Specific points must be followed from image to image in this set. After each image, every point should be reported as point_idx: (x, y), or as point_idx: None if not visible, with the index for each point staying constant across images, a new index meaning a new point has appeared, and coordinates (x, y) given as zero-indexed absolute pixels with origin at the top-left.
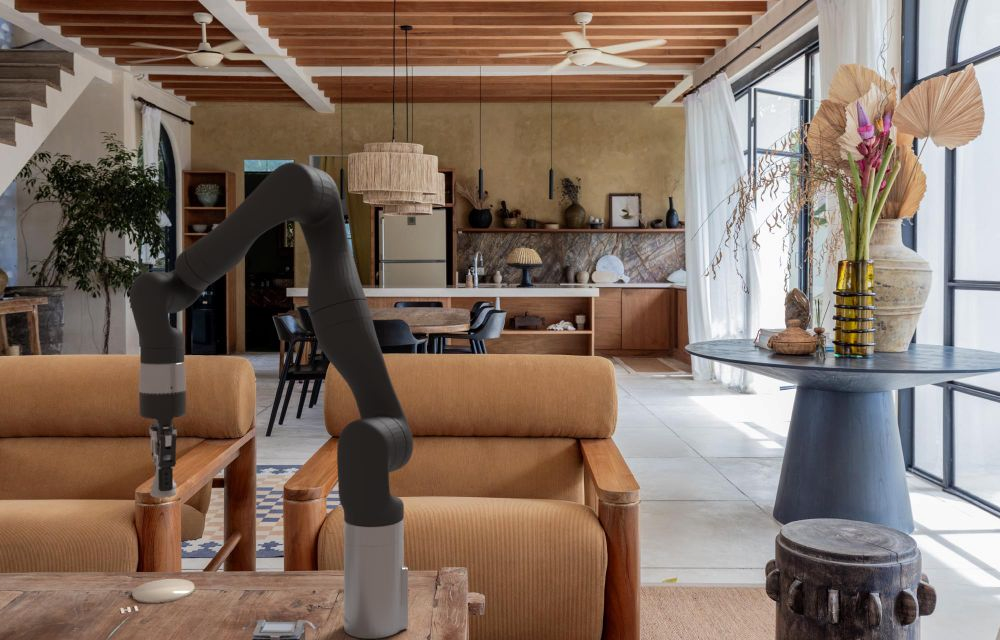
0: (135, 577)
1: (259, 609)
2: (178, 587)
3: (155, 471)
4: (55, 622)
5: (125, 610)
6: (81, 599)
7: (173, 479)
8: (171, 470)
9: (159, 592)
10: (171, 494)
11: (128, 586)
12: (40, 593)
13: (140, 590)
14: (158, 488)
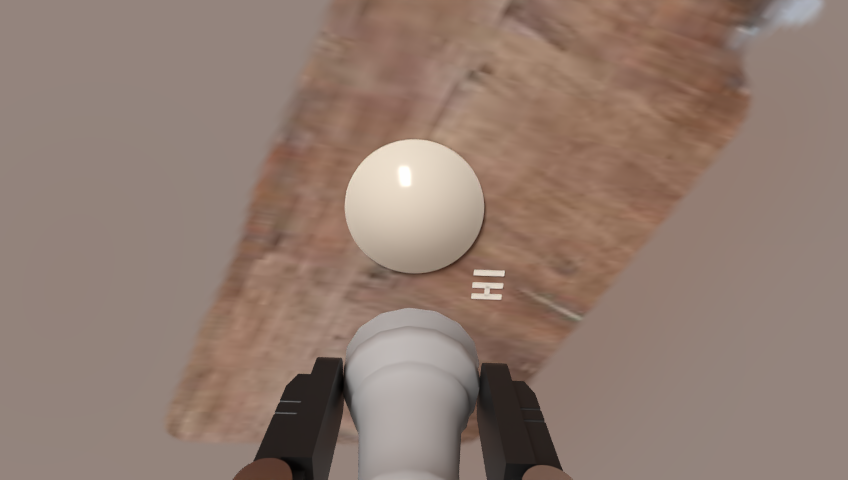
0: (277, 247)
1: (666, 20)
2: (422, 179)
3: (327, 476)
4: None
5: (489, 291)
6: None
7: (410, 366)
8: (530, 458)
9: (435, 223)
10: (471, 340)
11: (336, 268)
12: None
13: (401, 257)
14: (478, 421)
